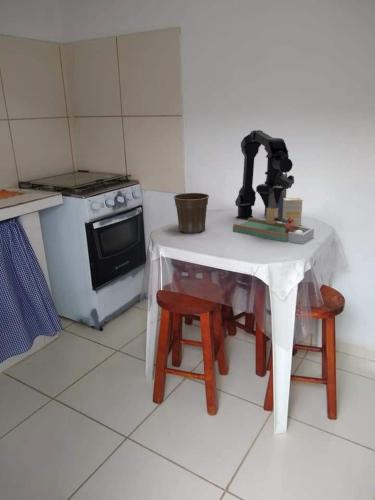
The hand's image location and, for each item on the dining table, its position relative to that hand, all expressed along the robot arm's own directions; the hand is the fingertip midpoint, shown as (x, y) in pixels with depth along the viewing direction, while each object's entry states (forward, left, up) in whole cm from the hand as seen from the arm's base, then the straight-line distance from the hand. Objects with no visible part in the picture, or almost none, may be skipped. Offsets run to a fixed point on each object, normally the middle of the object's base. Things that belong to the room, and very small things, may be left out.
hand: (272, 205), depth 172 cm
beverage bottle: (-12, +26, -13) cm, 31 cm away
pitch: (+1, 0, -13) cm, 13 cm away
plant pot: (-32, -16, -13) cm, 38 cm away
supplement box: (+2, +17, -13) cm, 21 cm away
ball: (+13, 0, -11) cm, 17 cm away
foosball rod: (+4, 0, -10) cm, 11 cm away
